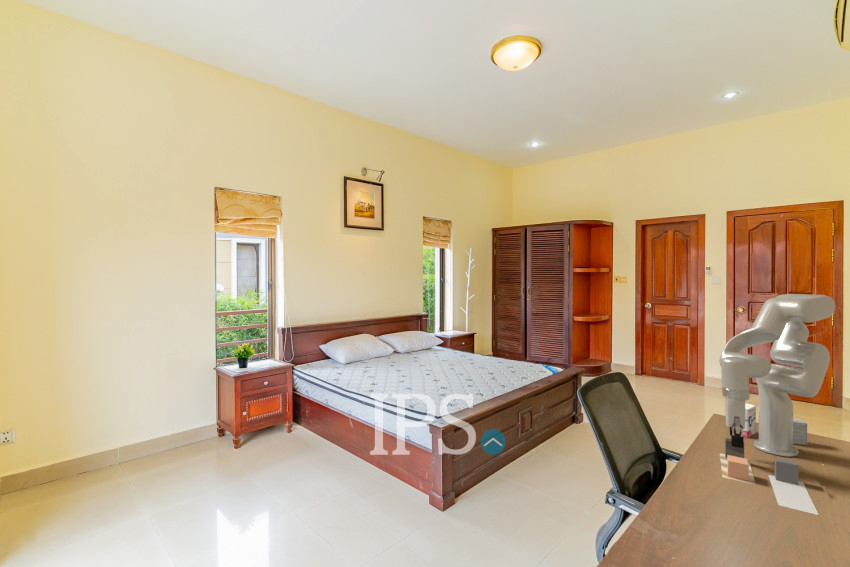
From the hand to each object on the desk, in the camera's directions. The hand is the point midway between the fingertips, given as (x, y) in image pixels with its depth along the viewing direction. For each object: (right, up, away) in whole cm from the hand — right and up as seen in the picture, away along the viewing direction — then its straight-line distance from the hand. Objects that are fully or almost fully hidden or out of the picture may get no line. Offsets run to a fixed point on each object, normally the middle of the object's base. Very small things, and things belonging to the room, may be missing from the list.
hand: (736, 441), depth 136 cm
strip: (-2, -7, -22) cm, 24 cm away
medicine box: (+33, -7, +15) cm, 37 cm away
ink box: (+22, -7, +23) cm, 33 cm away
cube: (-9, -6, -12) cm, 16 cm away
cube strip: (-6, -7, -7) cm, 12 cm away
